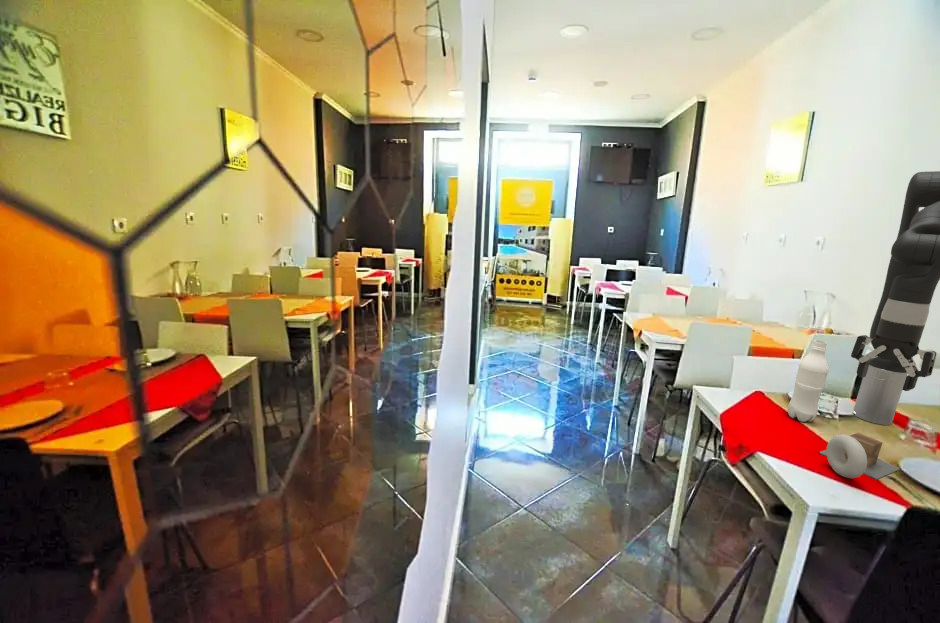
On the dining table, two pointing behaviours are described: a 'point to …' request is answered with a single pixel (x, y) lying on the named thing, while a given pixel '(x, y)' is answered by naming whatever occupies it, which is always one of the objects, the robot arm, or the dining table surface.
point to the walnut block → (868, 447)
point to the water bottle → (809, 383)
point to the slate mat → (875, 468)
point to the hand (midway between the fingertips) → (883, 383)
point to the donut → (855, 456)
